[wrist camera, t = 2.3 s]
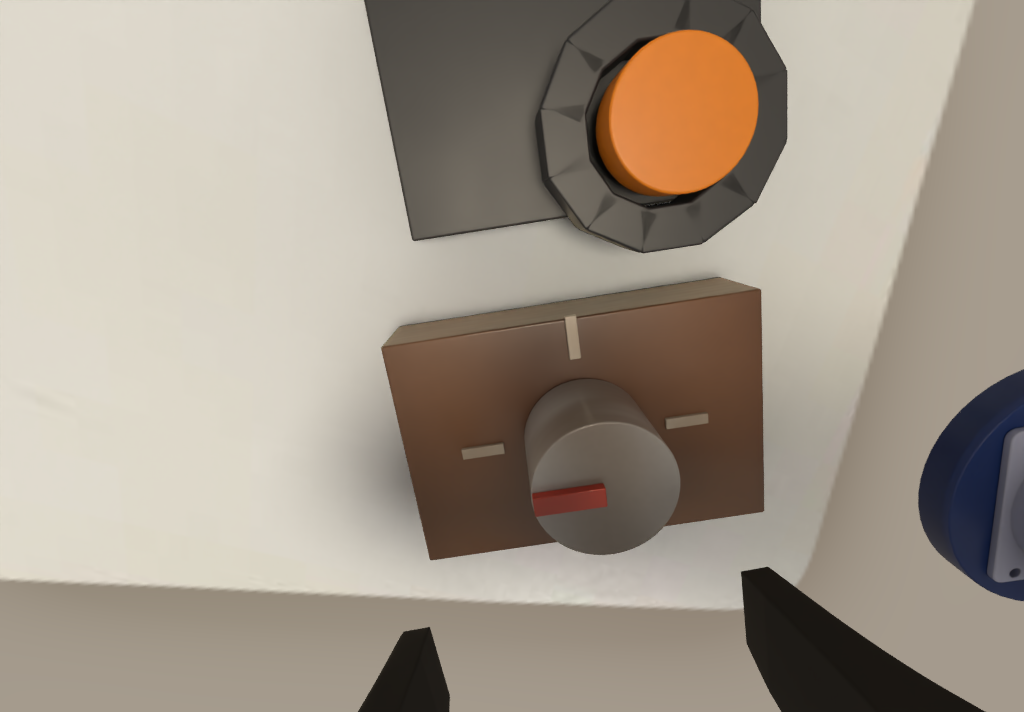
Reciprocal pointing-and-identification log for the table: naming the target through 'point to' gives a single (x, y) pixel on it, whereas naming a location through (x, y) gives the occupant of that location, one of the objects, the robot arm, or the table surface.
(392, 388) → the dimmer panel
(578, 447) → the dial
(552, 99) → the switch block
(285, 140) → the table surface
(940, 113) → the table surface
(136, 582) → the table surface
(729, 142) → the switch button
